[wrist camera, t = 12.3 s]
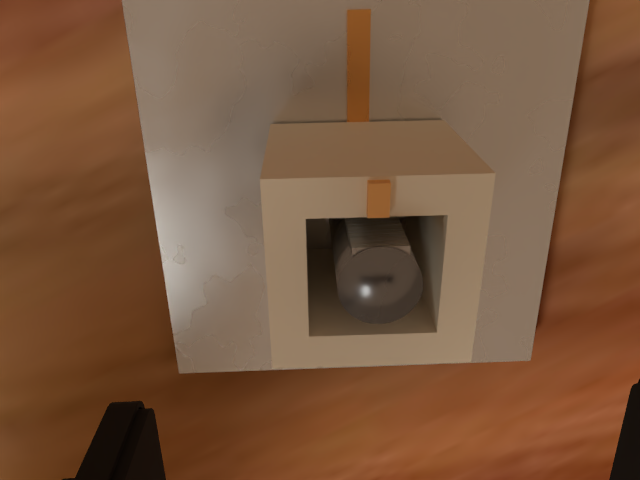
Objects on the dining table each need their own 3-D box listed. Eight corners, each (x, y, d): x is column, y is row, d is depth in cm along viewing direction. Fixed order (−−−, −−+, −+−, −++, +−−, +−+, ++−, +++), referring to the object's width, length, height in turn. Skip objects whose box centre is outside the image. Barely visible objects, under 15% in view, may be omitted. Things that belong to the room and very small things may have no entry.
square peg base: (520, 345, 26) (608, 484, 19) (183, 357, 26) (137, 504, 19) (577, -27, 20) (746, -40, 12) (129, -18, 19) (22, -24, 12)
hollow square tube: (431, 271, 23) (473, 368, 18) (278, 275, 23) (272, 374, 17) (443, 120, 20) (499, 177, 15) (270, 123, 20) (259, 183, 15)
